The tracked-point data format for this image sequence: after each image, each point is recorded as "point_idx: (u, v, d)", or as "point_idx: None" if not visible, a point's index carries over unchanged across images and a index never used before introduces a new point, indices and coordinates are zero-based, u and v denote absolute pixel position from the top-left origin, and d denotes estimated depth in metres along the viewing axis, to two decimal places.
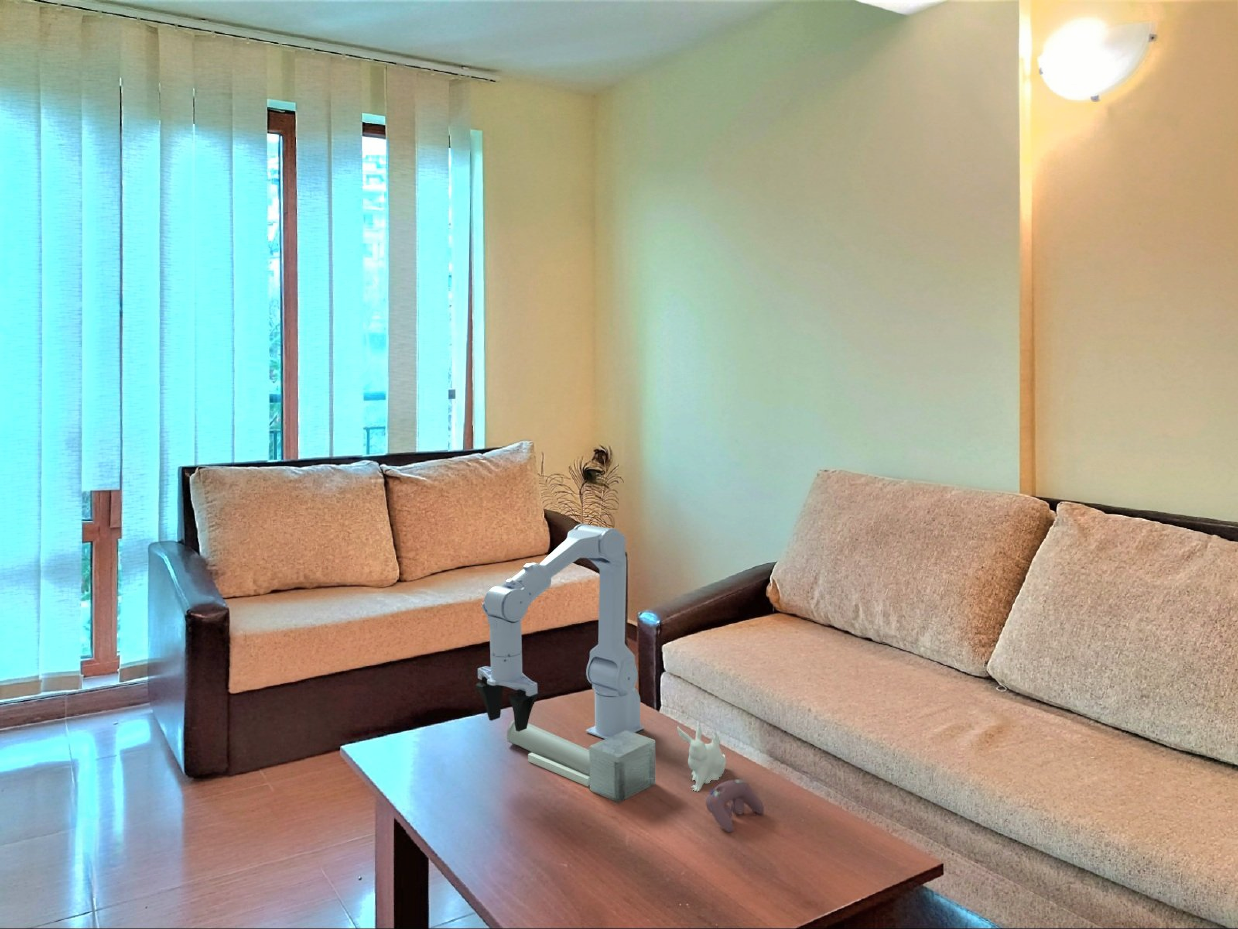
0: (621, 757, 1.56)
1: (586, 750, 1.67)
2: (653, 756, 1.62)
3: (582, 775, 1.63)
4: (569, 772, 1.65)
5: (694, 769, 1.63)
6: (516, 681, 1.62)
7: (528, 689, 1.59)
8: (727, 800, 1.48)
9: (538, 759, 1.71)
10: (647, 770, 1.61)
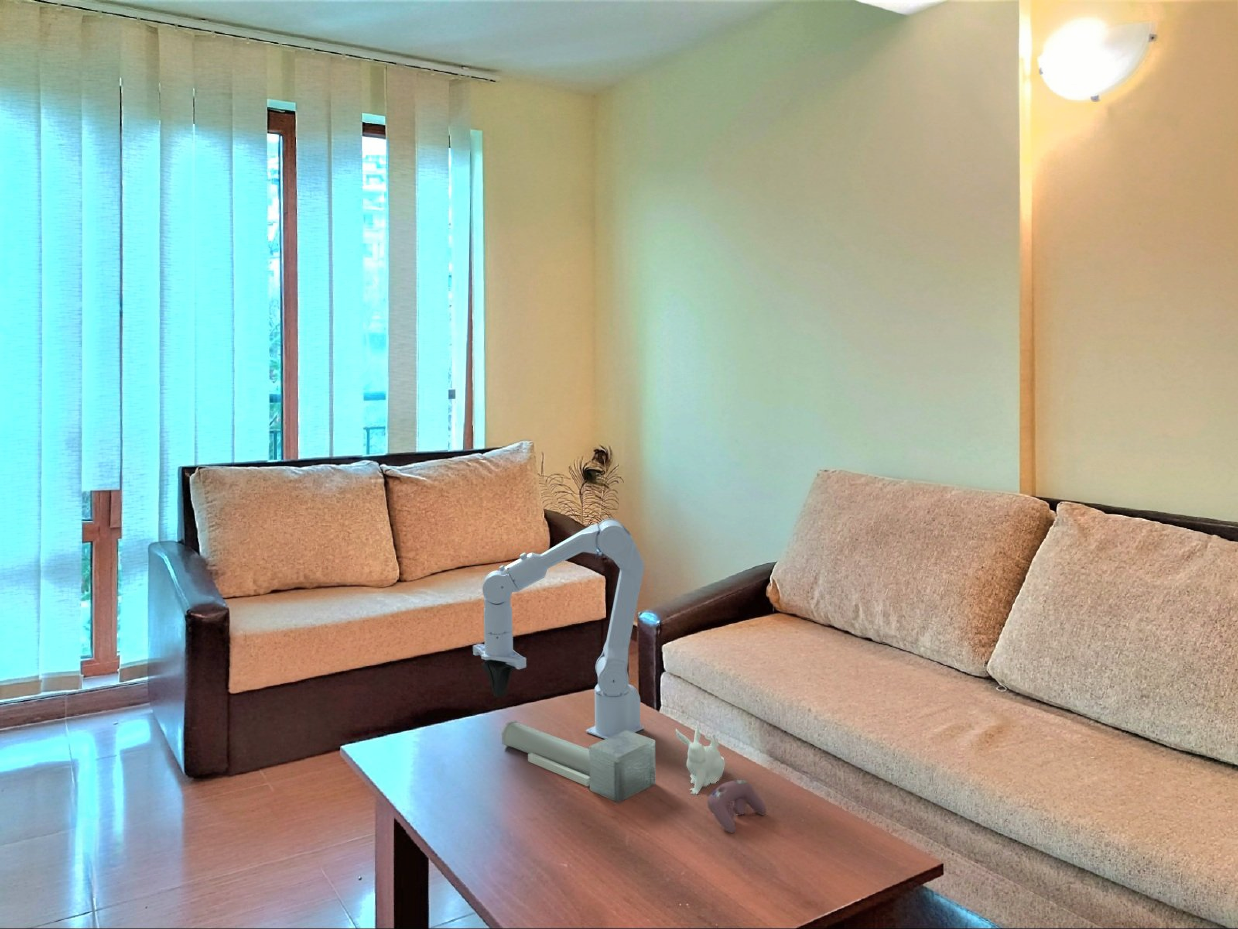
0: (621, 757, 1.56)
1: (587, 749, 1.67)
2: (653, 756, 1.62)
3: (582, 775, 1.63)
4: (569, 772, 1.65)
5: (693, 772, 1.62)
6: (507, 656, 1.81)
7: (518, 663, 1.77)
8: (729, 801, 1.48)
9: (538, 759, 1.71)
10: (647, 770, 1.61)
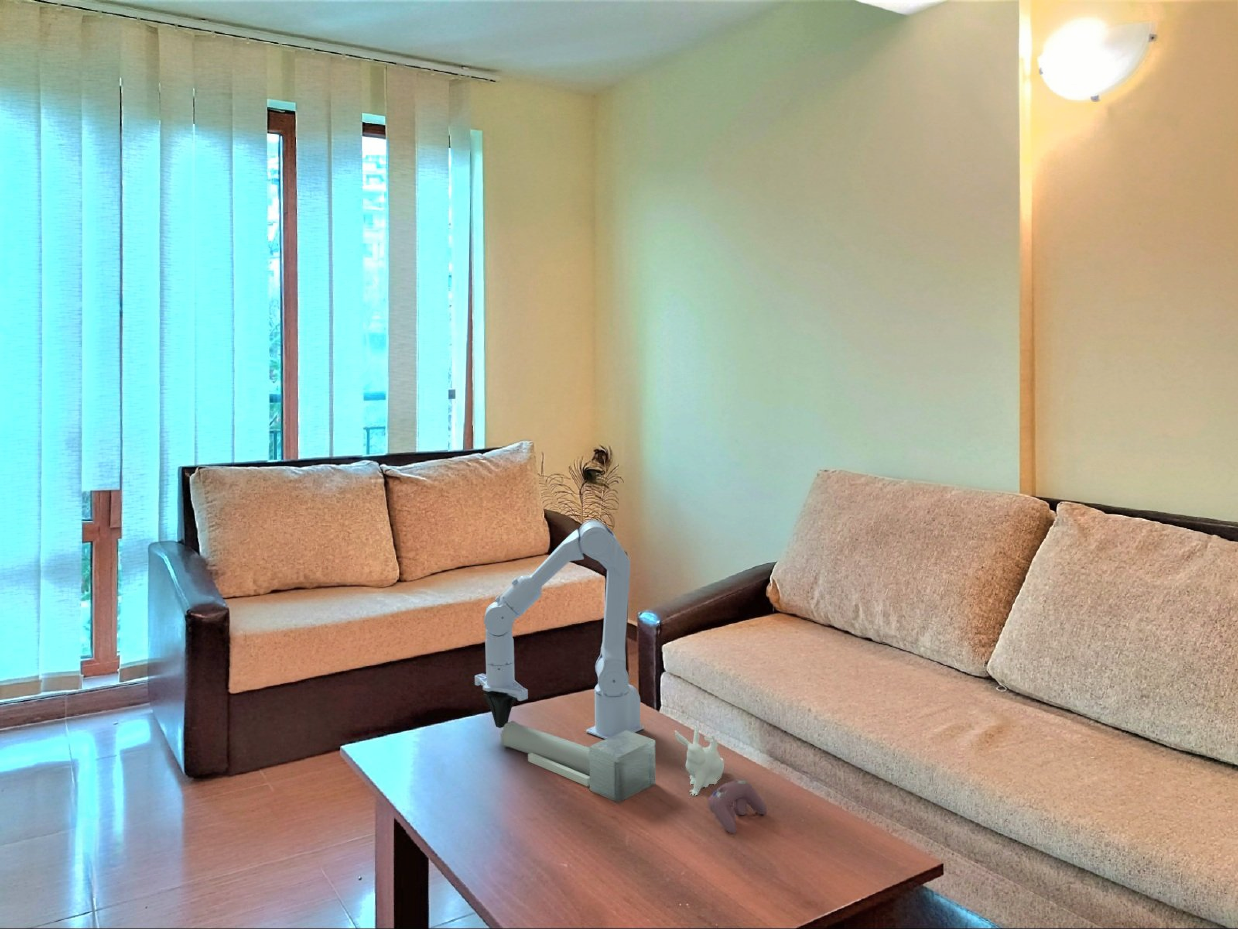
0: (621, 757, 1.56)
1: (588, 748, 1.68)
2: (653, 756, 1.62)
3: (582, 775, 1.63)
4: (569, 772, 1.65)
5: (692, 773, 1.61)
6: (509, 687, 1.81)
7: (519, 694, 1.78)
8: (730, 801, 1.48)
9: (538, 759, 1.71)
10: (647, 770, 1.61)
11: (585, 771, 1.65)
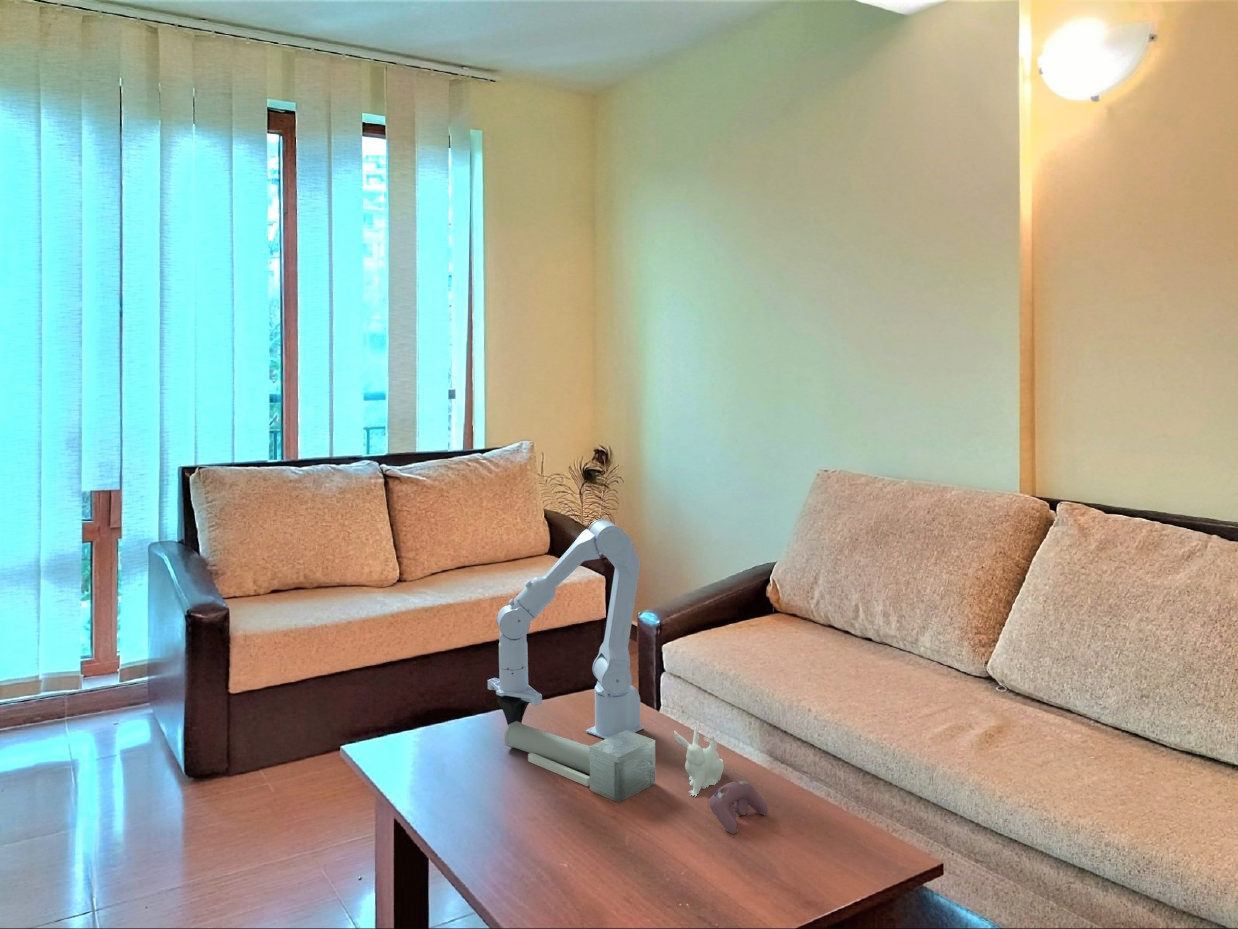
0: (621, 757, 1.56)
1: None
2: (653, 756, 1.62)
3: (582, 775, 1.63)
4: (569, 772, 1.65)
5: (691, 774, 1.61)
6: (522, 692, 1.78)
7: (533, 699, 1.75)
8: (731, 801, 1.48)
9: (538, 759, 1.71)
10: (647, 770, 1.61)
11: None
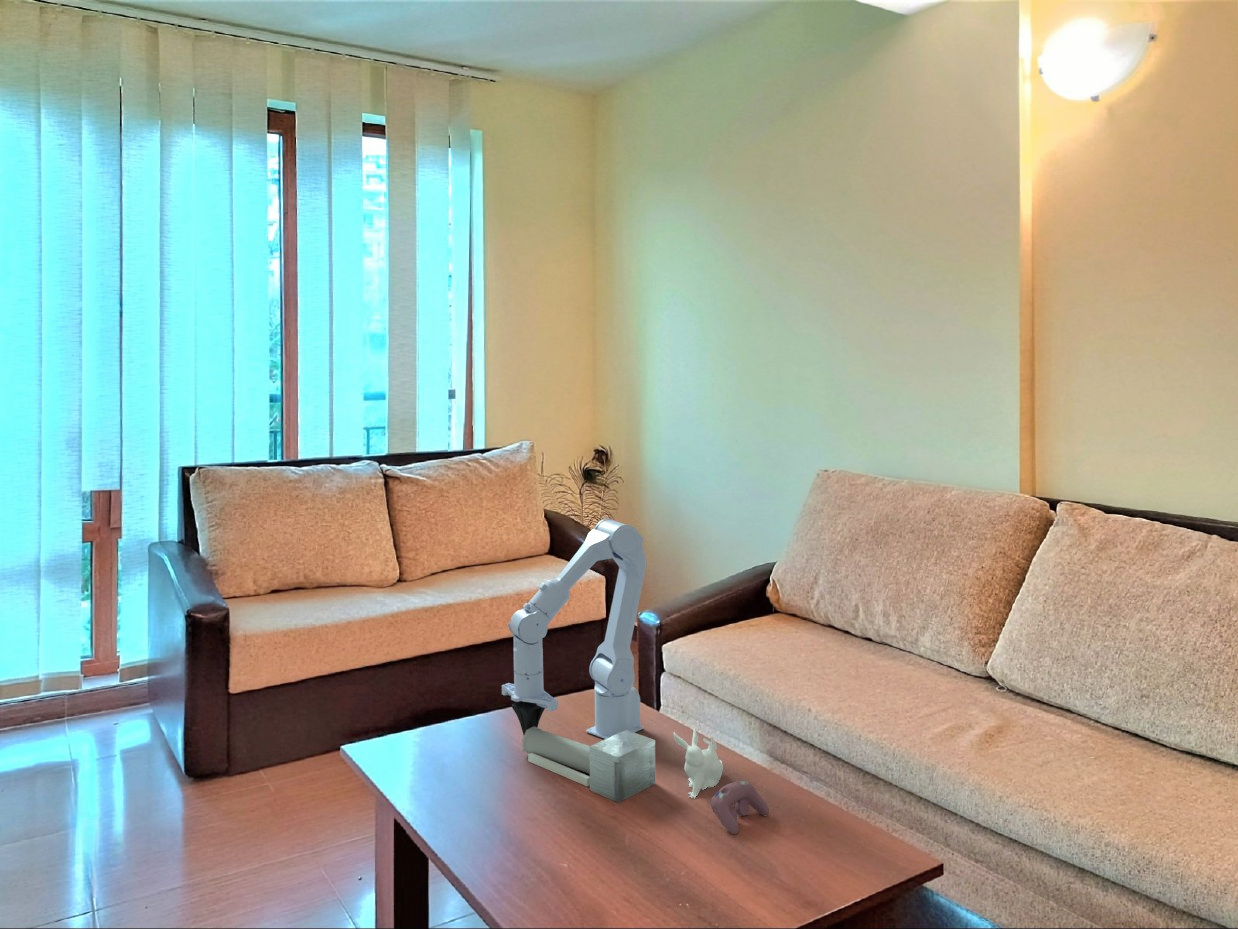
0: (621, 757, 1.56)
1: None
2: (653, 756, 1.62)
3: (582, 775, 1.63)
4: (569, 772, 1.65)
5: (691, 775, 1.60)
6: (538, 697, 1.75)
7: (549, 705, 1.72)
8: (732, 802, 1.48)
9: (538, 759, 1.71)
10: (647, 770, 1.61)
11: None
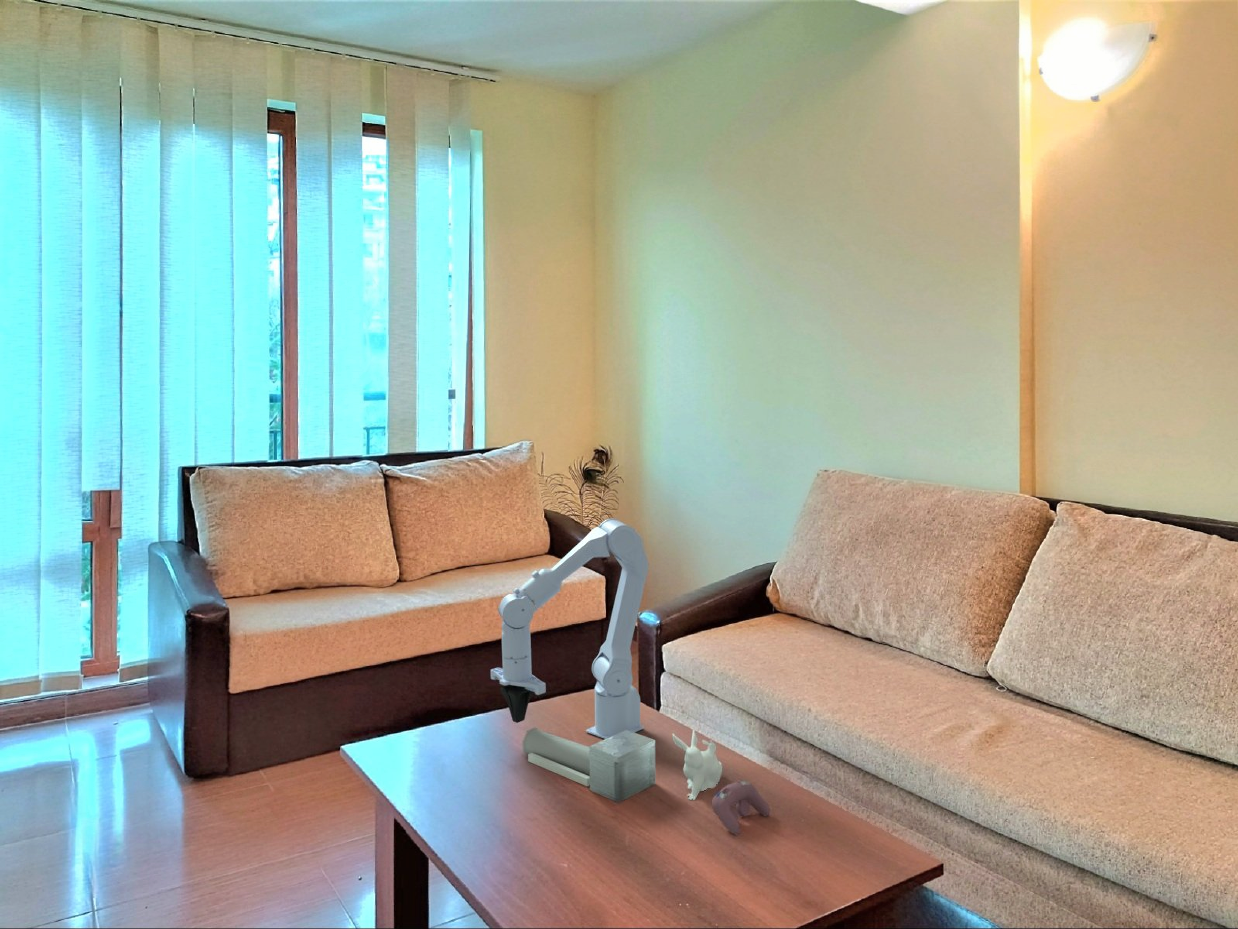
0: (621, 757, 1.56)
1: None
2: (653, 756, 1.62)
3: (582, 775, 1.63)
4: (569, 772, 1.65)
5: (690, 777, 1.60)
6: (526, 681, 1.77)
7: (537, 688, 1.74)
8: (733, 802, 1.48)
9: (538, 759, 1.71)
10: (647, 770, 1.61)
11: None
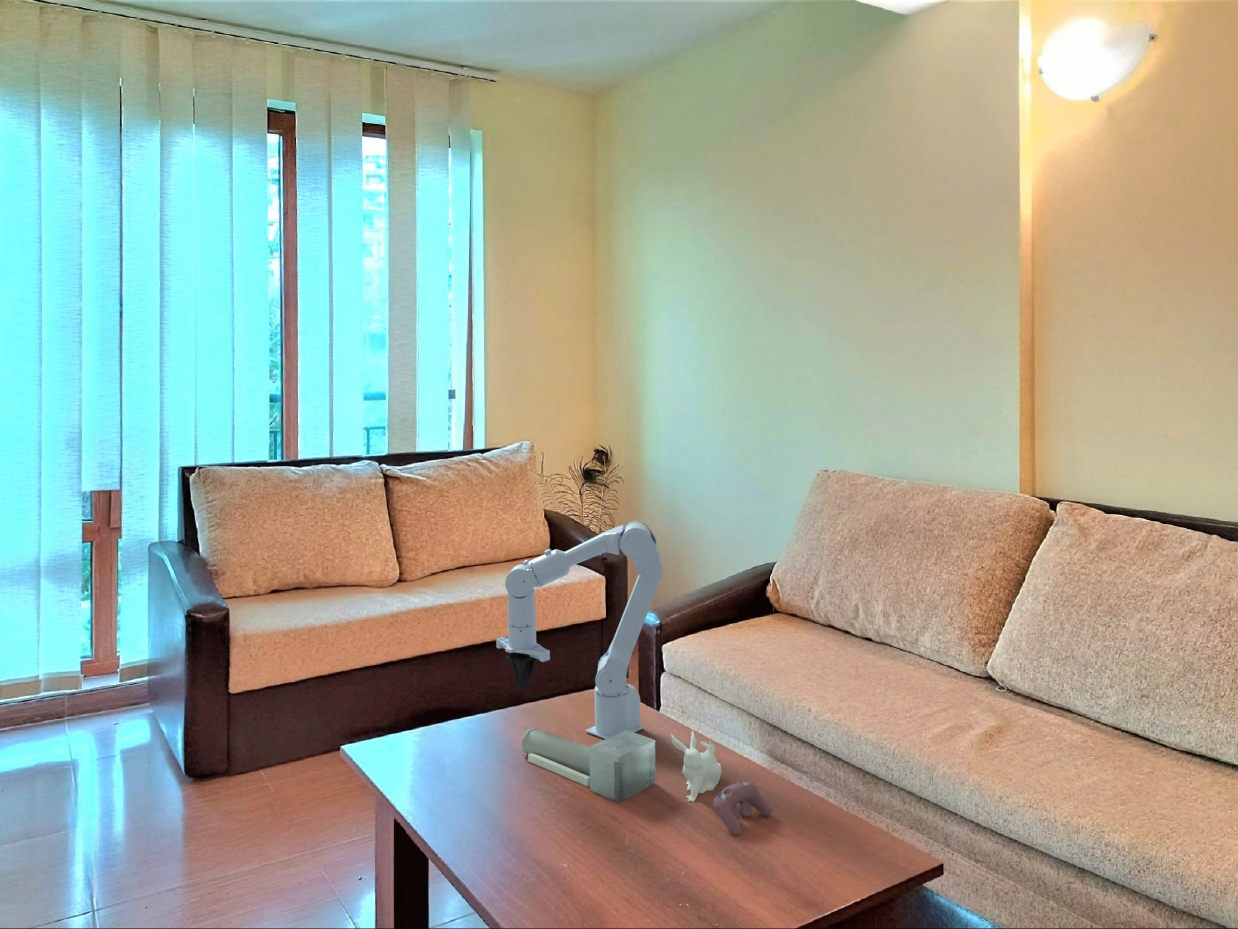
0: (621, 757, 1.56)
1: None
2: (653, 756, 1.62)
3: (582, 775, 1.63)
4: (569, 772, 1.65)
5: (689, 779, 1.59)
6: (531, 649, 1.83)
7: (542, 655, 1.80)
8: (735, 803, 1.47)
9: (538, 759, 1.71)
10: (647, 770, 1.61)
11: None
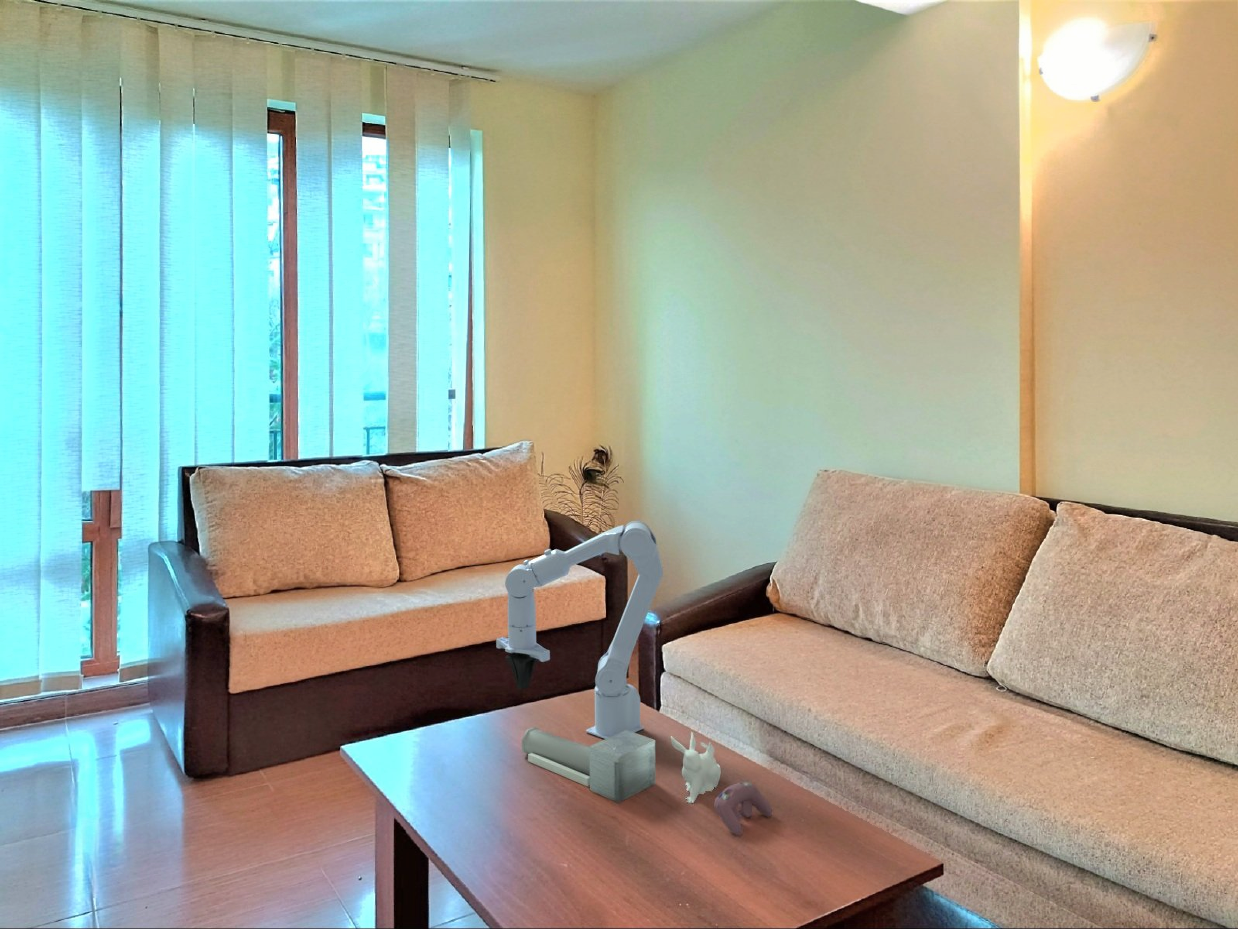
0: (621, 757, 1.56)
1: None
2: (653, 756, 1.62)
3: (582, 775, 1.63)
4: (569, 772, 1.65)
5: (688, 780, 1.58)
6: (531, 649, 1.83)
7: (542, 655, 1.80)
8: (736, 803, 1.47)
9: (538, 759, 1.71)
10: (647, 770, 1.61)
11: None
